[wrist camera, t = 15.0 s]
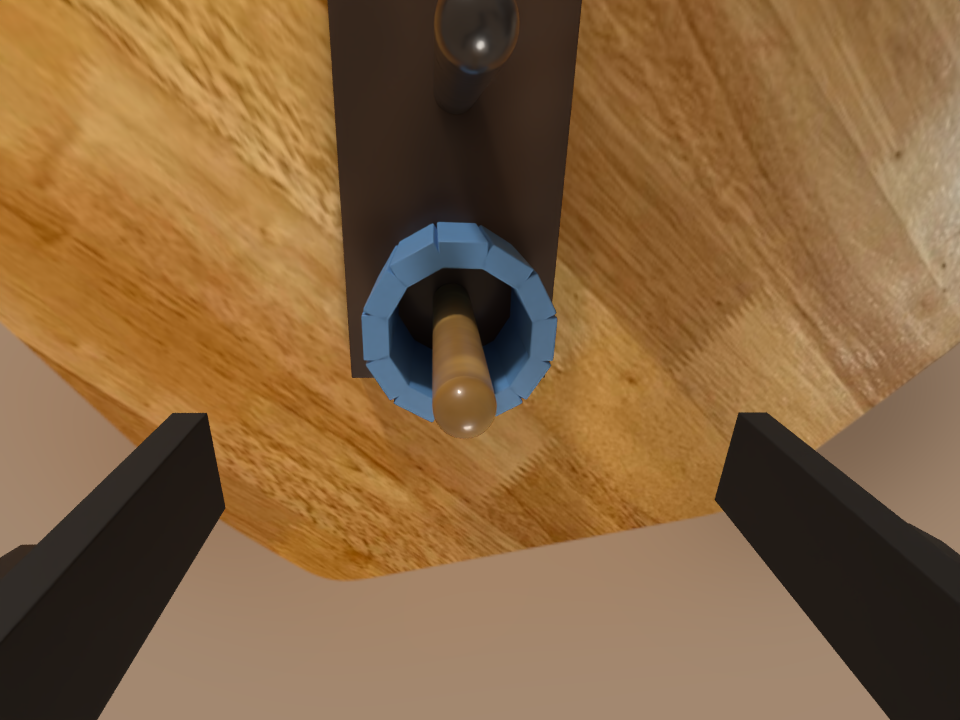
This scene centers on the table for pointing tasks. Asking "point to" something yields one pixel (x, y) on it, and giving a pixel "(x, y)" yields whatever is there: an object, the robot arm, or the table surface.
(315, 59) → the table surface
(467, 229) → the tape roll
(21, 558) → the robot arm
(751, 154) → the table surface
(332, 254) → the table surface
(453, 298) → the peg stand
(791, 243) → the table surface
